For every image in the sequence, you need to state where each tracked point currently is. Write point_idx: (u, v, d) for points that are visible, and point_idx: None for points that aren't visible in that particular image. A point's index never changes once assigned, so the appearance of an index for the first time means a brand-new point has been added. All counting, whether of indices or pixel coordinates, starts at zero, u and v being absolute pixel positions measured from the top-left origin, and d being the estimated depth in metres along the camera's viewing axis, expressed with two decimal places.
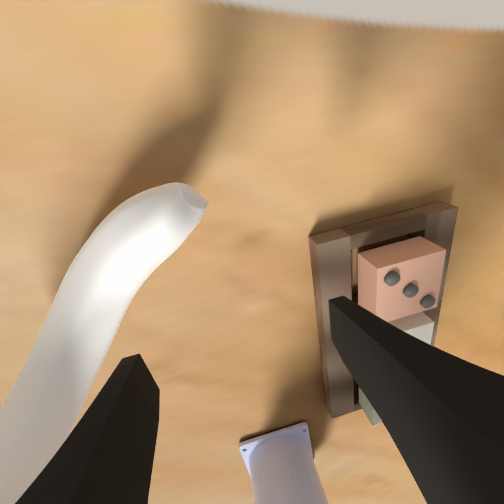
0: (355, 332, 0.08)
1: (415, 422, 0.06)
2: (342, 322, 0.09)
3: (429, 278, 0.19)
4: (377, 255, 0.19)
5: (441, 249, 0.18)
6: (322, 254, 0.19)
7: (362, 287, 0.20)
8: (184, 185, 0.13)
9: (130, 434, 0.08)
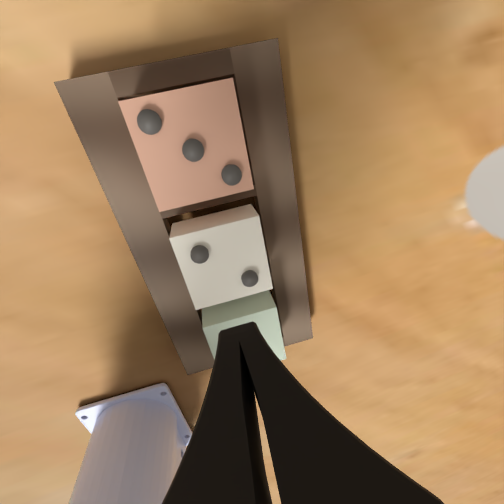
0: (247, 364, 0.08)
1: None
2: (242, 351, 0.09)
3: (221, 132, 0.13)
4: None
5: (226, 79, 0.12)
6: (70, 102, 0.13)
7: None
8: None
9: (249, 397, 0.08)
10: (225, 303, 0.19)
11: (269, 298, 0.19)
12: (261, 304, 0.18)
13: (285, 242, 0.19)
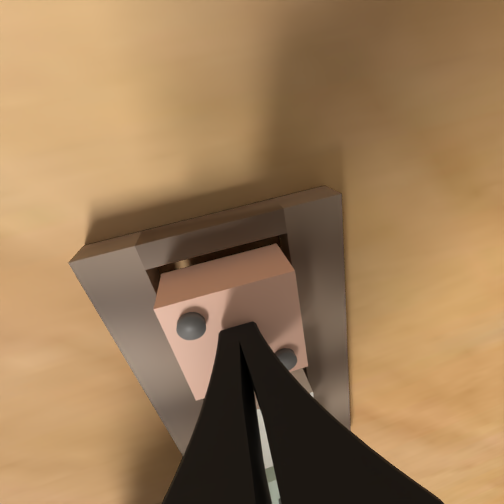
0: (246, 364, 0.08)
1: None
2: (242, 351, 0.09)
3: (276, 321, 0.10)
4: (183, 279, 0.10)
5: (286, 270, 0.10)
6: (88, 280, 0.11)
7: None
8: None
9: (248, 397, 0.08)
10: None
11: None
12: None
13: (330, 380, 0.16)
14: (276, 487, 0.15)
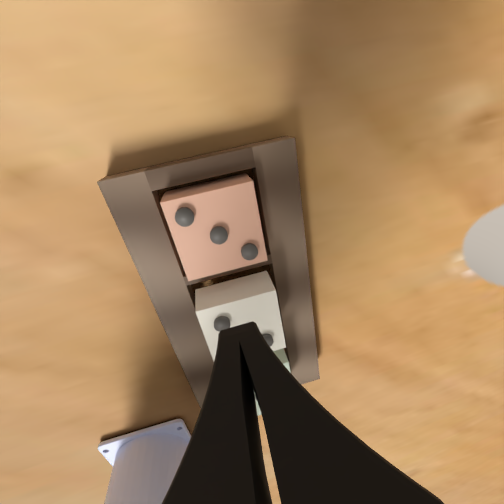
0: (247, 364, 0.08)
1: None
2: (242, 351, 0.09)
3: (242, 220, 0.15)
4: (179, 192, 0.15)
5: (247, 181, 0.14)
6: (110, 196, 0.15)
7: None
8: None
9: (248, 397, 0.08)
10: None
11: (281, 351, 0.20)
12: None
13: (296, 300, 0.20)
14: None
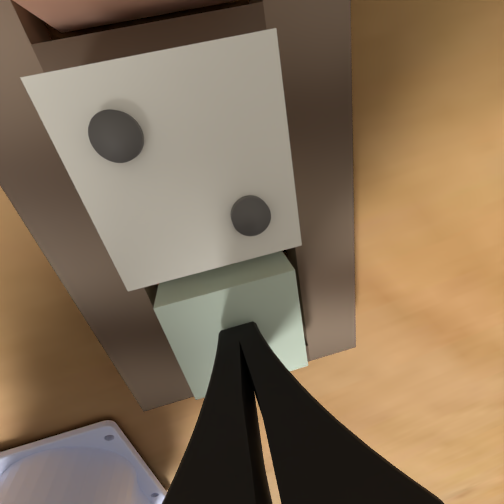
0: (247, 364, 0.08)
1: None
2: (242, 351, 0.09)
3: None
4: None
5: None
6: None
7: None
8: None
9: (248, 397, 0.08)
10: None
11: (280, 257, 0.10)
12: (265, 267, 0.10)
13: (321, 160, 0.09)
14: (220, 310, 0.10)
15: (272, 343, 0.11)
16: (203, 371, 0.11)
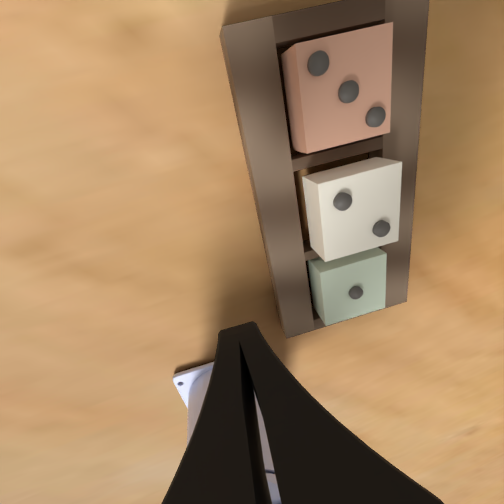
0: (247, 364, 0.08)
1: None
2: (242, 351, 0.09)
3: (374, 75, 0.14)
4: None
5: (386, 23, 0.13)
6: (233, 47, 0.13)
7: (291, 109, 0.15)
8: None
9: (248, 397, 0.08)
10: None
11: (374, 248, 0.20)
12: (369, 252, 0.19)
13: None
14: (349, 274, 0.19)
15: (369, 293, 0.20)
16: (333, 308, 0.20)
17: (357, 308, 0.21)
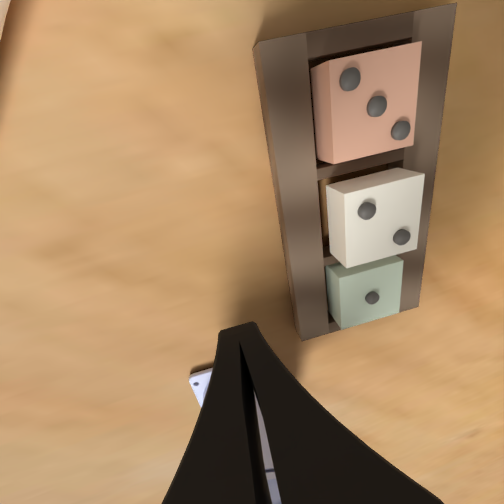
0: (247, 364, 0.08)
1: None
2: (242, 351, 0.09)
3: (401, 90, 0.14)
4: None
5: (415, 42, 0.14)
6: (267, 61, 0.14)
7: (318, 120, 0.16)
8: None
9: (248, 397, 0.08)
10: None
11: None
12: (386, 259, 0.20)
13: None
14: (366, 280, 0.20)
15: (384, 298, 0.21)
16: (350, 312, 0.21)
17: (372, 312, 0.21)
